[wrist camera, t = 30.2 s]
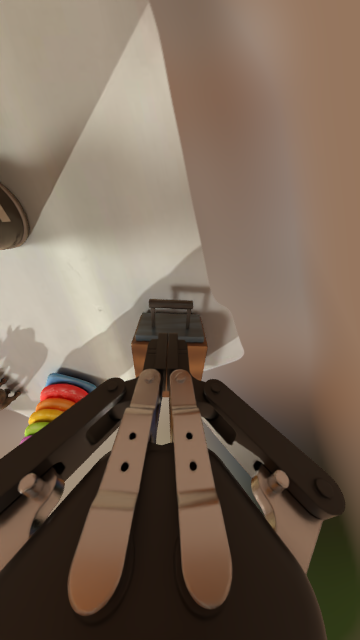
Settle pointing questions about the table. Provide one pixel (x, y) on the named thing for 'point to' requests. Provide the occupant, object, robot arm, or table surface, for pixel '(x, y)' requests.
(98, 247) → the table surface
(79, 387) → the stacking toy
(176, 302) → the drawer
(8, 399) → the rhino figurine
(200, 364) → the cabinet
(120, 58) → the table surface
